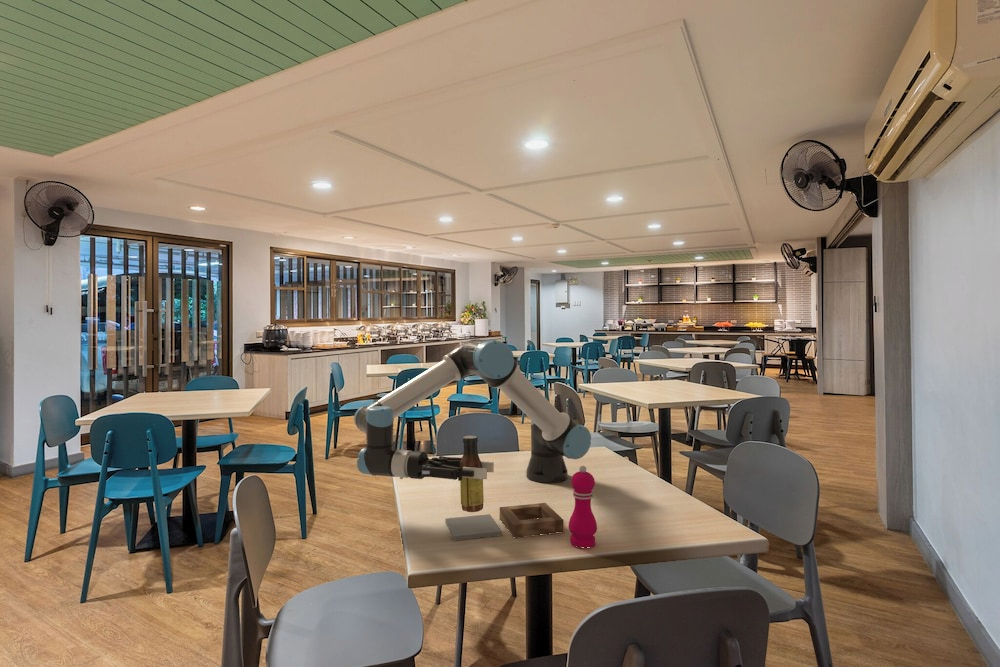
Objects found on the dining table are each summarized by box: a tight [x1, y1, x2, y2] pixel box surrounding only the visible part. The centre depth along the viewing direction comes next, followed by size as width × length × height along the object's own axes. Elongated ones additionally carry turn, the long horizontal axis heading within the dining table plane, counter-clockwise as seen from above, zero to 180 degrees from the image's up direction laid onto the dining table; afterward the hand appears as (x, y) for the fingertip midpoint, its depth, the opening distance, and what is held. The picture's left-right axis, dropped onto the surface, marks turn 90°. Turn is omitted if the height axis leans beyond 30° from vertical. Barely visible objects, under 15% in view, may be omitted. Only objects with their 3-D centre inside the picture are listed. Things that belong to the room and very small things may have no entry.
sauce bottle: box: [459, 435, 485, 513], centre depth 144 cm, size 6×6×20 cm
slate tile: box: [444, 513, 503, 541], centre depth 144 cm, size 13×13×1 cm
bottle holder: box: [499, 502, 565, 538], centre depth 146 cm, size 14×14×4 cm
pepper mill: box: [568, 465, 598, 548], centre depth 134 cm, size 7×7×20 cm
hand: (489, 470), depth 142 cm, fingers closed on sauce bottle, 6 cm apart
